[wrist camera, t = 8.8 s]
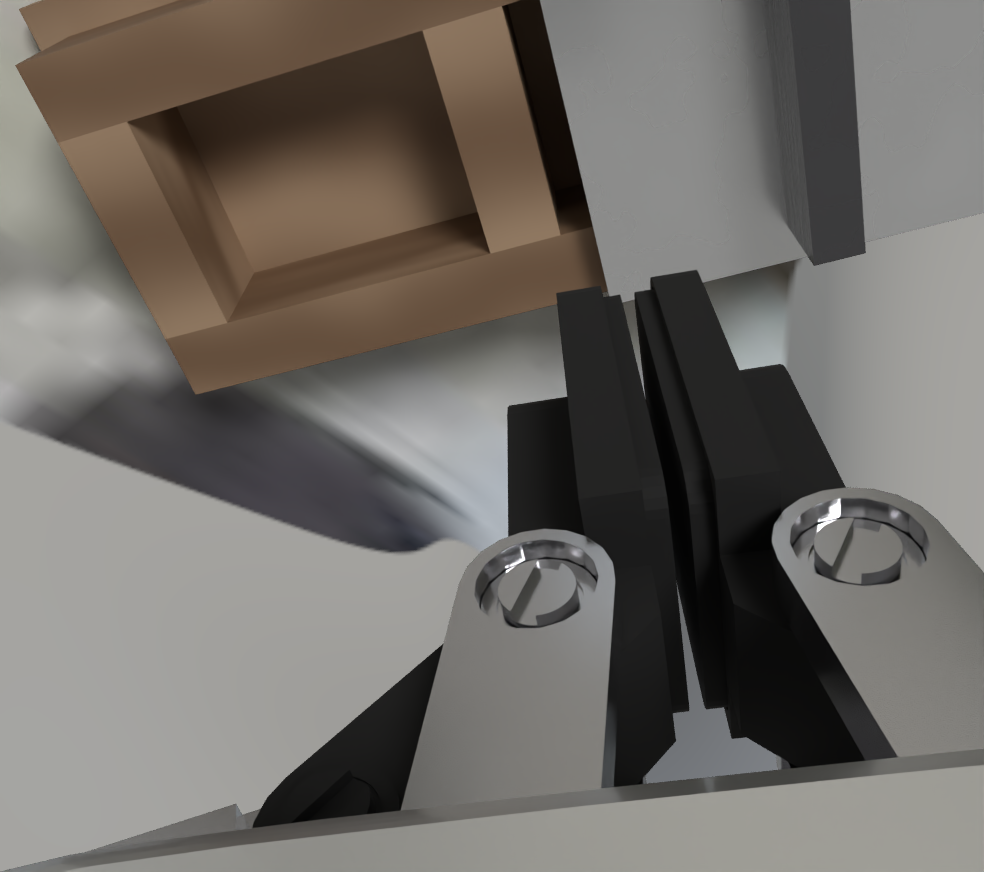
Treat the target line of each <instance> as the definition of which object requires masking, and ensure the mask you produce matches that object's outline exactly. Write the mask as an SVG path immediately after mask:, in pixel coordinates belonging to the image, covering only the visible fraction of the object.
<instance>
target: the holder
mask: <svg viewBox="0 0 984 872" xmlns="http://www.w3.org/2000/svg"><path fill="white" fill-rule="evenodd" d="M19 10H20V12H21V14H22V16H23V18H24V20H25V22H26V24H27V25H28V27H29V29H30V31H31V33H32V35H33V37H34V39H35V41H36V43H37V44H38V46H39V48H40V50H41V52H39V53H37V54H35V55H34V56H32V57H30V58H28V59H26V60H24V61H22V62H20V63H19V64H17V65H15V66H16V67H17V69H18V71H19V73H20V75H21V77H22V78H23V80H24V82H25V84H26V86H27V88H28V89H29V91H30V93H31V95H32V97H33V98H34V100H35V102H36V104H37V106H38V108H39V109H40V111H41V113H42V115H43V117H44V119H45V120H46V122H47V124H48V126H49V128H50V129H51V131H52V133H53V135H54V137H55V139H56V140H57V142H58V144H59V146H60V148H61V150H62V151H63V153H64V155H65V157H66V159H67V161H68V162H69V164H70V166H71V168H72V170H73V171H74V173H75V175H76V177H77V179H78V181H79V182H80V184H81V186H82V188H83V190H84V192H85V193H86V195H87V197H88V199H89V201H90V203H91V204H92V206H93V208H94V210H95V212H96V213H97V215H98V217H99V219H100V221H101V223H102V224H103V226H104V228H105V230H106V232H107V234H108V235H109V237H110V239H111V241H112V243H113V244H114V246H115V248H116V250H117V252H118V254H119V255H120V257H121V259H122V261H123V263H124V265H125V266H126V268H127V270H128V272H129V274H130V276H131V277H132V279H133V281H134V283H135V285H136V286H137V288H138V290H139V292H140V294H141V296H142V297H143V299H144V301H145V303H146V305H147V307H148V308H149V310H150V312H151V314H152V316H153V317H154V319H155V321H156V323H157V325H158V327H159V328H160V330H161V332H162V334H163V336H164V338H165V339H166V341H167V343H168V345H169V347H170V349H171V350H172V352H173V354H174V356H175V358H176V359H177V361H178V363H179V365H180V367H181V369H182V370H183V372H184V374H185V376H186V378H187V380H188V381H189V383H190V385H191V387H192V389H193V391H194V392H195V394H200V393H204V392H208V391H212V390H216V389H220V388H224V387H228V386H232V385H236V384H240V383H244V382H248V381H252V380H256V379H260V378H264V377H268V376H272V375H276V374H280V373H284V372H288V371H292V370H296V369H300V368H304V367H308V366H312V365H316V364H320V363H324V362H328V361H332V360H336V359H340V358H344V357H348V356H352V355H356V354H360V353H364V352H368V351H372V350H376V349H380V348H384V347H388V346H392V345H395V344H399V343H403V342H407V341H411V340H415V339H419V338H423V337H427V336H431V335H435V334H439V333H443V332H447V331H451V330H455V329H459V328H463V327H467V326H471V325H475V324H479V323H483V322H487V321H491V320H495V319H499V318H503V317H507V316H511V315H515V314H519V313H523V312H527V311H531V310H535V309H539V308H543V307H547V306H551V305H555V304H557V297H556V293H559V292H565V291H571V290H577V289H583V288H589V287H595V286H601V289H602V293H603V292H607V291H608V288H607V284H606V280H605V276H604V271H603V267H602V263H601V259H600V254H599V250H598V246H597V242H596V237H595V233H594V229H593V225H592V220H591V216H590V212H589V207H588V203H587V199H586V195H585V190H584V186H583V182H582V178H581V173H580V169H579V165H578V161H577V156H576V152H575V148H574V144H573V139H572V135H571V131H570V127H569V122H568V118H567V114H566V110H565V105H564V101H563V97H562V92H561V88H560V84H559V80H558V75H557V71H556V67H555V63H554V58H553V54H552V50H551V46H550V41H549V37H548V33H547V29H546V24H545V20H544V16H543V12H542V7H541V3H540V0H41V1H38V2H35V3H33V4H30V5H28V6H26V7H23V8H21V9H19Z"/></svg>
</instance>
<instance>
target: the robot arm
mask: <svg viewBox="0 0 984 872" xmlns="http://www.w3.org/2000/svg"><path fill="white" fill-rule="evenodd" d="M556 297H557V306H558V315H559V324H560V333H561V342H562V352H563V361H564V370H565V379H566V388H567V397H563V398H556V399H550V400H543V401H537V402H530V403H524V404H517V405H511V406H509V407H508V414H507V420H508V537H507V538H504V539H501V540H499V541H497V542H496V543H494V544H493V545H491V546H489V547H488V548H486V549H485V550H483V551H482V552H480V553H479V555H478V556H477V557H476V558H475V559H474V560H473V561H472V562H471V563H470V564H469V565H468V566H467V568H466V570H465V572H464V574H463V577H462V579H461V581H460V583H459V586H458V590H457V594H456V598H455V602H454V606H453V609H452V614H451V617H450V621H449V625H448V629H447V633H446V637H445V640H444V644H442V645H441V646H440V647H439V648H438V649H437V650H435V651H434V652H433V653H432V654H431V655H430V656H429V657H427V658H426V659H425V660H424V661H422V662H421V663H420V664H419V665H418V666H417V667H415V668H414V669H413V670H412V671H411V672H410V673H408V674H407V675H406V676H405V677H404V678H402V679H401V680H400V681H399V682H398V683H397V684H395V685H394V686H393V687H392V688H391V689H390V690H388V691H387V692H386V693H385V694H384V695H383V696H381V697H380V698H379V699H378V700H377V701H375V702H374V703H373V704H372V705H371V706H370V707H368V708H367V709H366V710H365V711H364V712H362V713H361V714H360V715H359V716H358V717H357V718H355V719H354V720H353V721H352V722H351V723H350V724H348V725H347V726H346V727H345V728H344V729H343V730H341V731H340V732H339V733H338V734H337V735H335V736H334V737H333V738H332V739H331V740H330V741H329V742H327V743H326V744H325V745H324V746H323V747H321V748H320V749H319V750H318V751H317V752H315V753H314V754H313V755H312V756H311V757H310V758H308V759H307V760H306V761H305V762H304V763H303V764H301V765H300V766H299V767H298V768H297V769H295V770H294V771H293V772H292V773H291V774H290V775H289V776H287V777H286V778H285V779H284V780H283V781H282V782H281V784H280V785H279V786H278V787H277V788H276V789H275V790H274V791H273V792H272V793H271V794H270V795H269V796H268V797H267V799H266V801H265V803H264V804H263V806H262V808H261V809H259V810H256V811H253V812H250V813H247V814H244V815H242V813H241V812H240V810H239V808H238V806H237V805H236V804H234V805H231V806H228V807H224V808H221V809H218V810H215V811H212V812H209V813H206V814H203V815H200V816H197V817H193V818H190V819H187V820H184V821H181V822H178V823H175V824H172V825H169V826H165V827H163V828H159V829H156V830H153V831H150V832H147V833H144V834H141V835H137V836H134V837H131V838H128V839H125V840H122V841H119V842H116V843H113V844H109V845H106V846H104V847H100V848H97V849H94V850H91V851H88V852H85V853H79V854H73V855H68V856H63V857H59V858H55V859H51V860H47V861H43V862H39V863H34V864H30V865H26V866H22V867H18V868H14V869H9V870H5V871H1V872H984V573H983V571H982V570H981V569H980V568H979V567H978V565H977V564H976V563H975V562H974V561H973V560H972V559H971V557H970V556H969V555H968V554H967V553H966V552H965V551H964V549H963V548H962V547H961V546H960V545H959V544H958V543H957V541H956V540H955V539H954V538H953V537H952V536H951V535H950V533H949V532H948V531H947V530H946V529H945V528H944V527H943V525H942V524H941V523H940V522H939V521H938V520H937V519H936V518H935V517H934V516H932V515H931V514H930V513H929V512H928V511H926V510H925V509H924V508H923V507H921V506H920V505H918V504H916V503H914V502H912V501H910V500H907V499H905V498H903V497H901V496H899V495H896V494H892V493H888V492H884V491H880V490H876V489H867V488H849V487H847V488H846V487H845V485H844V483H843V481H842V480H841V477H840V475H839V473H838V471H837V469H836V467H835V465H834V463H833V461H832V459H831V457H830V455H829V453H828V451H827V449H826V447H825V445H824V443H823V441H822V439H821V437H820V435H819V433H818V431H817V429H816V427H815V425H814V423H813V422H812V419H811V417H810V415H809V413H808V411H807V409H806V407H805V405H804V403H803V401H802V399H801V397H800V395H799V393H798V391H797V389H796V387H795V385H794V383H793V381H792V379H791V377H790V375H789V373H788V371H787V370H786V368H785V367H784V365H781V364H778V365H771V366H765V367H758V368H752V369H745V370H739V369H738V366H737V364H736V362H735V359H734V357H733V354H732V352H731V349H730V347H729V345H728V342H727V340H726V337H725V335H724V333H723V330H722V328H721V325H720V323H719V321H718V318H717V316H716V313H715V311H714V309H713V306H712V304H711V301H710V299H709V296H708V294H707V292H706V289H705V287H704V284H703V282H702V280H701V277H700V275H699V272H698V271H697V270H691V271H685V272H679V273H673V274H667V275H661V276H655V277H650V290H644V291H638V292H634V298H635V309H636V318H637V327H638V336H639V345H640V354H641V362H642V371H643V380H644V389H645V396H644V392H643V387H642V383H641V379H640V375H639V371H638V366H637V362H636V358H635V354H634V350H633V345H632V341H631V337H630V333H629V329H628V324H627V320H626V316H625V312H624V308H623V303H622V299H621V295H614V296H608V297H603V294H602V289H601V286H595V287H589V288H583V289H577V290H571V291H565V292H559V293H556ZM645 398H646V400H645ZM676 581H677V584H676ZM677 585H678V590H679V595H680V599H681V604H682V608H683V613H684V617H685V621H686V626H687V631H688V635H689V640H690V644H691V648H692V653H693V658H694V662H695V667H696V671H697V676H698V680H699V684H700V689H701V693H702V698H703V702H704V706H705V708H706V709H713V708H722V707H724V709H725V713H726V717H727V721H728V725H729V729H730V733H731V738H732V739H734V738H743V737H747V738H749V739H750V740H752V741H754V742H755V743H757V744H759V745H761V746H762V747H764V748H766V749H767V750H769V751H771V752H772V753H774V754H776V759H777V767H778V770H773V771H763V772H754V773H744V774H735V775H726V776H716V777H707V778H697V779H687V780H678V781H668V782H659V783H649V784H647V783H646V776H645V775H646V774H647V773H648V772H649V771H650V769H651V768H652V767H653V766H654V765H655V764H656V763H657V762H658V761H659V759H660V758H661V757H662V756H663V755H664V754H665V753H666V752H667V750H668V749H669V748H670V747H671V746H672V745H673V744H674V743H675V742H676V738H675V731H674V721H673V713H677V712H685V711H689V701H688V691H687V682H686V672H685V662H684V652H683V643H682V633H681V623H680V613H679V603H678V595H677Z"/></svg>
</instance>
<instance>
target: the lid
mask: <svg viewBox="0 0 984 872" xmlns="http://www.w3.org/2000/svg"><path fill="white" fill-rule="evenodd" d="M540 3H541V7H542V12H543V16H544V20H545V24H546V29H547V33H548V37H549V41H550V46H551V50H552V54H553V58H554V63H555V67H556V71H557V75H558V80H559V84H560V88H561V92H562V97H563V101H564V105H565V110H566V114H567V118H568V122H569V127H570V131H571V135H572V139H573V144H574V148H575V152H576V156H577V161H578V165H579V169H580V173H581V178H582V182H583V186H584V190H585V195H586V199H587V203H588V207H589V212H590V216H591V220H592V225H593V229H594V233H595V237H596V242H597V246H598V250H599V254H600V259H601V263H602V267H603V271H604V276H605V280H606V284H607V288H608V293H609V296H614V295H621V299H622V303H623V302H627V301H631V300H635V298H634V292H638V291H644V290H650V277H655V276H661V275H667V274H673V273H679V272H685V271H691V270H697V271H698V272H699V275H700V277H701V280H702V282H707V281H711V280H715V279H719V278H723V277H727V276H731V275H735V274H740V273H744V272H748V271H752V270H756V269H760V268H764V267H768V266H772V265H776V264H780V263H784V262H788V261H792V260H796V259H800V258H804V257H809V259H810V260H811V262H812V263H813V265H814V266H815V265H819V264H823V263H827V262H831V261H835V260H840V259H844V258H848V257H852V256H856V255H860V254H864V253H866V251H865V242H868V241H872V240H877V239H881V238H884V237H889V236H893V235H897V234H901V233H905V232H909V231H913V230H917V229H921V228H925V227H929V226H932V225H937V224H941V223H945V222H949V221H953V220H957V219H961V218H965V217H969V216H973V215H977V214H981V213H984V0H540Z"/></svg>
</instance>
